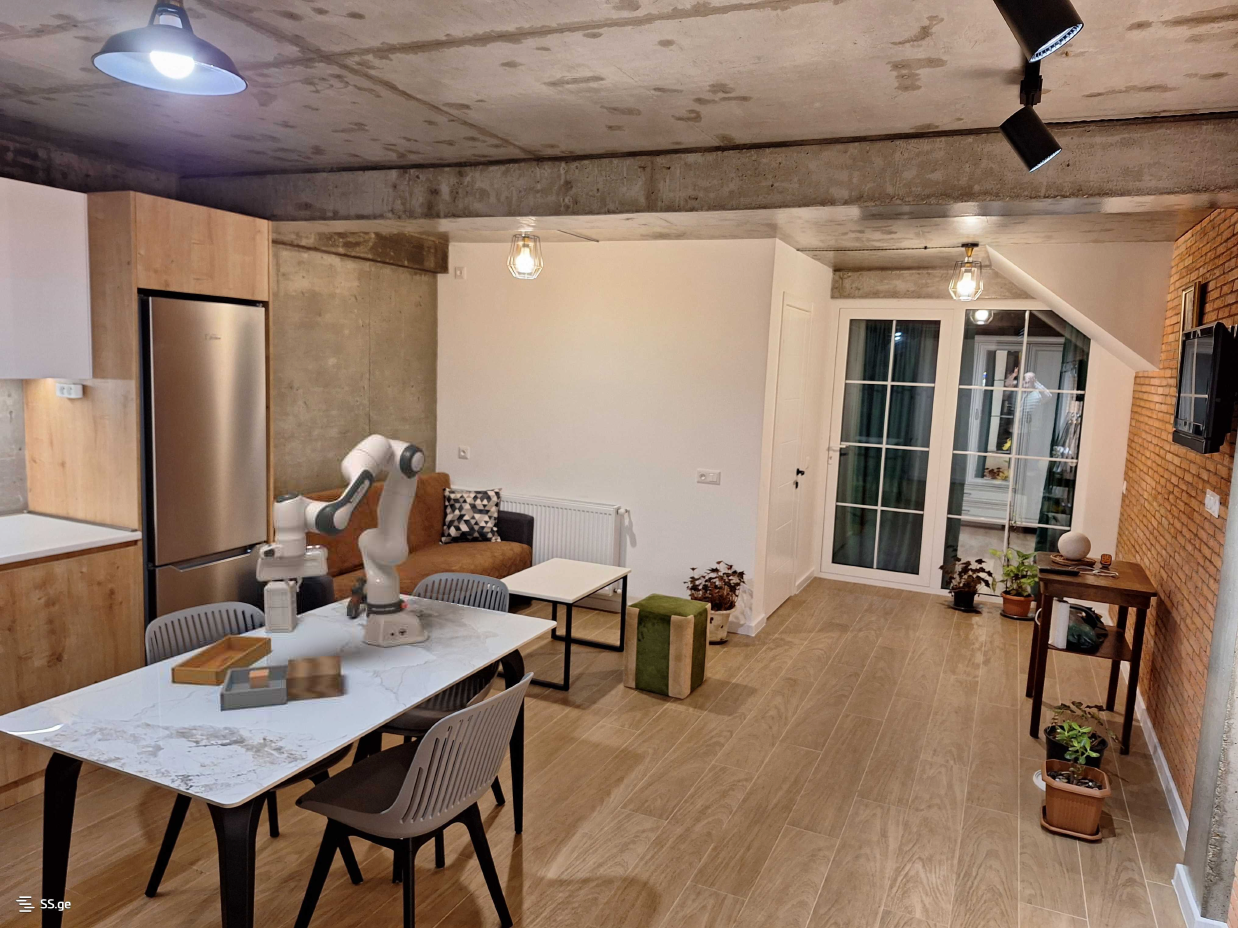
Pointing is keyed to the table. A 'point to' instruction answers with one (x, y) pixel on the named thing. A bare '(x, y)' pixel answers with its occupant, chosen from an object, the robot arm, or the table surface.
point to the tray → (220, 660)
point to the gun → (357, 597)
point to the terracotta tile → (259, 678)
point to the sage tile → (261, 686)
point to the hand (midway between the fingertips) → (293, 591)
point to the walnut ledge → (313, 678)
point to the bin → (242, 697)
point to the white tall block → (279, 608)
